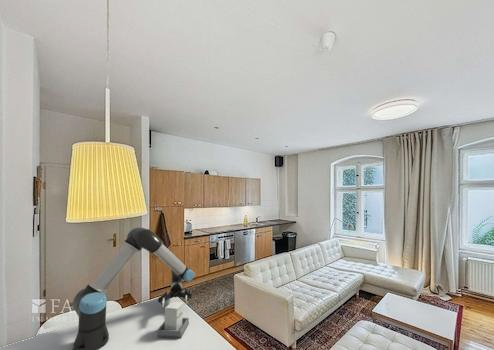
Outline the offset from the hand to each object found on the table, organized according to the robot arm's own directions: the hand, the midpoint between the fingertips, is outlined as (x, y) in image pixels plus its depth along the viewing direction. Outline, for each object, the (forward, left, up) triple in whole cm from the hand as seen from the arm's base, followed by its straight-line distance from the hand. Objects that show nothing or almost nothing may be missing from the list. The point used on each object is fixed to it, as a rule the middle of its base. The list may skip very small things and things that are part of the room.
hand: (174, 303), depth 134 cm
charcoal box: (+8, -4, -10) cm, 14 cm away
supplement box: (+8, -4, -10) cm, 13 cm away
